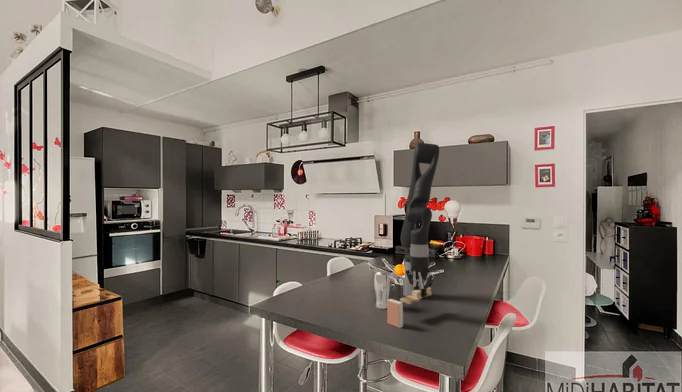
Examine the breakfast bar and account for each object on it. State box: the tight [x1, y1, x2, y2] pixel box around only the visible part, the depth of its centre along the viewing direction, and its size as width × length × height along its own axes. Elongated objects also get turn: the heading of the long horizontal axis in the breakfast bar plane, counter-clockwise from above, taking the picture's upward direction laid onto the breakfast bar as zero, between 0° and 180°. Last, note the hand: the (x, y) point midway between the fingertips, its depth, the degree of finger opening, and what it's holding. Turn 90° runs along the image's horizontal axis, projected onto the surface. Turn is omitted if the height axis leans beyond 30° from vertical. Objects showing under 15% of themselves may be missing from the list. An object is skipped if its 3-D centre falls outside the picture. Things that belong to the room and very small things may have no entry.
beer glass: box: [373, 271, 391, 310], centre depth 139 cm, size 7×7×15 cm
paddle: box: [399, 287, 432, 305], centre depth 127 cm, size 16×5×3 cm, turn 129°
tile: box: [386, 298, 404, 329], centre depth 118 cm, size 6×2×9 cm, turn 39°
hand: (420, 296), depth 128 cm, fingers closed on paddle, 2 cm apart
